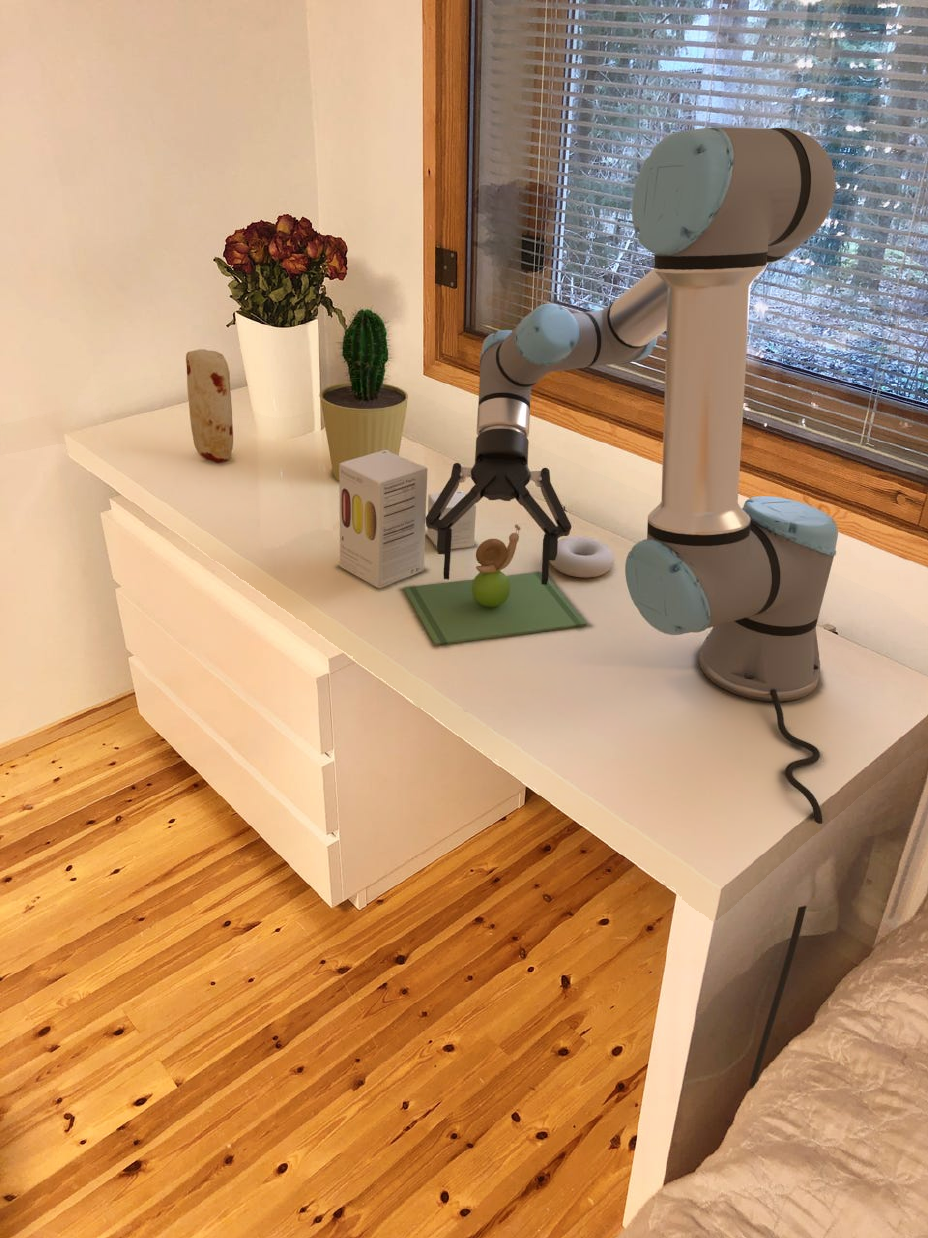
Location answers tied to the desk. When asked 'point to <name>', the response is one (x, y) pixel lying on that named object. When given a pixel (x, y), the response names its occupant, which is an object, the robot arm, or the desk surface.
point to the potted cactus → (363, 396)
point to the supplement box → (382, 517)
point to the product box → (462, 528)
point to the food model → (210, 404)
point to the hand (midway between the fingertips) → (495, 579)
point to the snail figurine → (493, 571)
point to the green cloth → (491, 610)
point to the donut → (583, 557)
